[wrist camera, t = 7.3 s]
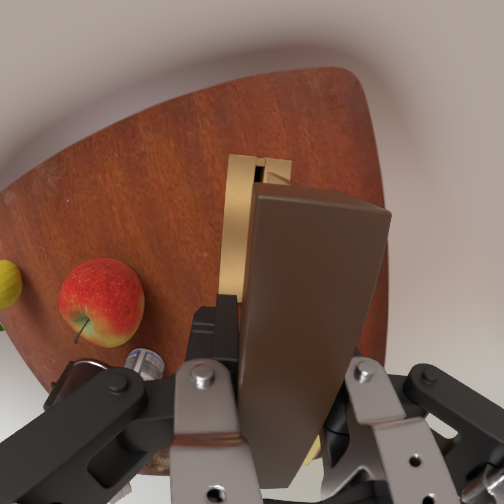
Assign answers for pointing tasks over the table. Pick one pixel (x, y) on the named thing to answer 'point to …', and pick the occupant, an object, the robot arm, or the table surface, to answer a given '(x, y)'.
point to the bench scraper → (301, 315)
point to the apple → (102, 302)
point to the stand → (241, 216)
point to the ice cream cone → (121, 493)
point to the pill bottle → (145, 364)
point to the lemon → (9, 284)
